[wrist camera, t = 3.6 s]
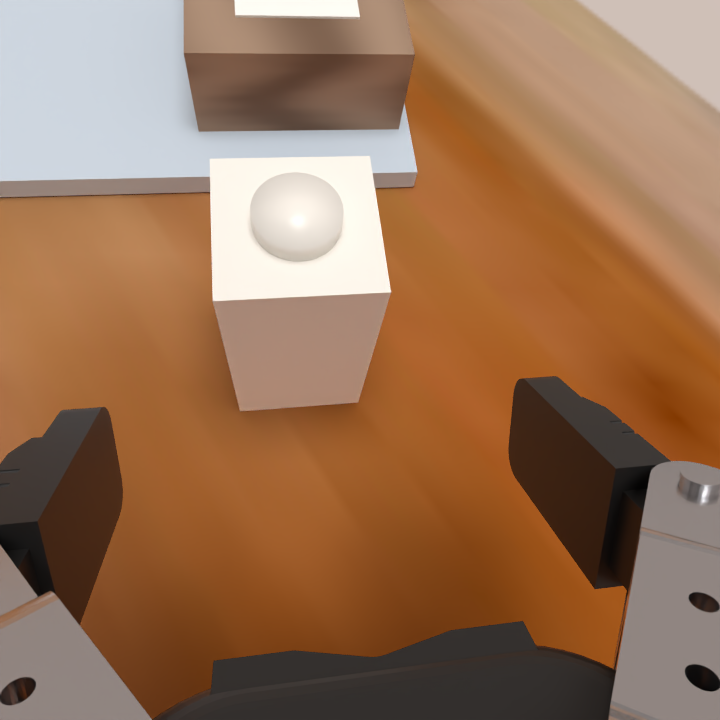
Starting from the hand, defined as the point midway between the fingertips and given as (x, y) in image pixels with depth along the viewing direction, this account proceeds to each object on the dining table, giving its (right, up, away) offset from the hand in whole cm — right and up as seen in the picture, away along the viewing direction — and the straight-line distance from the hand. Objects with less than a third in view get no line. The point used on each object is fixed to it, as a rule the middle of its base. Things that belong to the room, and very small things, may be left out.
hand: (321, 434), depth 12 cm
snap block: (-2, +2, +12) cm, 12 cm away
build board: (-9, +18, +18) cm, 27 cm away
